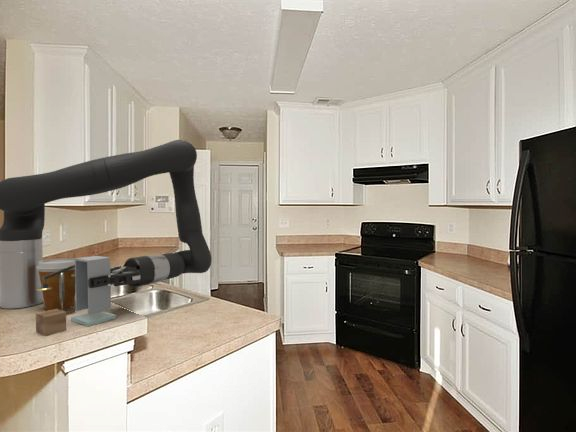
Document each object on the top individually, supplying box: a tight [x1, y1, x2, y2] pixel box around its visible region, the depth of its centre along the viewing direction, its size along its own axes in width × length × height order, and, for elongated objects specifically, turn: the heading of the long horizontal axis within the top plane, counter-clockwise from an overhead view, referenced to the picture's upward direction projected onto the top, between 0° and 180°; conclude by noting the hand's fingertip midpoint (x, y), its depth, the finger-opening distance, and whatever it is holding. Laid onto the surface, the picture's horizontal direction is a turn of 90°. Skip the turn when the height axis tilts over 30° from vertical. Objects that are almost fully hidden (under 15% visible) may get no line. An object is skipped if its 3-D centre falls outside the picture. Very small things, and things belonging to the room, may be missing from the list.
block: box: [35, 309, 67, 337], centre depth 74 cm, size 4×4×4 cm
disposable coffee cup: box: [36, 257, 76, 311], centre depth 92 cm, size 10×10×12 cm
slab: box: [70, 311, 117, 327], centre depth 82 cm, size 7×6×1 cm
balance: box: [36, 264, 76, 316], centre depth 86 cm, size 4×11×12 cm, turn 148°
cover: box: [75, 255, 112, 315], centre depth 82 cm, size 6×5×12 cm
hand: (81, 281), depth 79 cm, fingers closed on cover, 5 cm apart
